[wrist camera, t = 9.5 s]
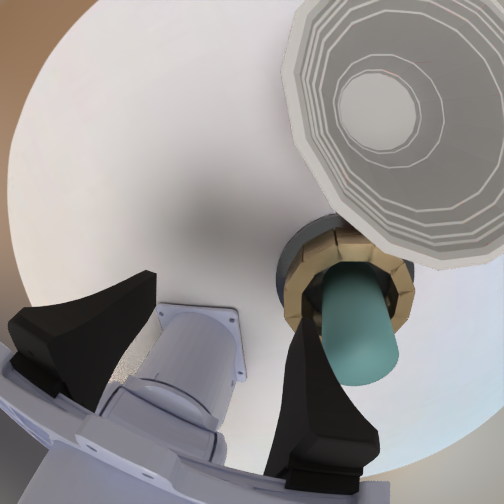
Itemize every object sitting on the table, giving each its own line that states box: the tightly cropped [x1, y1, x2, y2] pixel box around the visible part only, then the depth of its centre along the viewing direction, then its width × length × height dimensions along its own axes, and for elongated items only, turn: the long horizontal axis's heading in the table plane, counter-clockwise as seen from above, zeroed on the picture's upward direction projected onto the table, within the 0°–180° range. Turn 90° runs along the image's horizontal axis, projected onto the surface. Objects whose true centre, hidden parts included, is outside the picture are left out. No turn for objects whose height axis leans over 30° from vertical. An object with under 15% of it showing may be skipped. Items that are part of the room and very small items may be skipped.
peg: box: [321, 261, 399, 386], centre depth 18 cm, size 4×4×8 cm
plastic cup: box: [281, 0, 504, 270], centre depth 11 cm, size 11×11×12 cm
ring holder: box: [276, 213, 415, 343], centre depth 21 cm, size 11×11×3 cm
